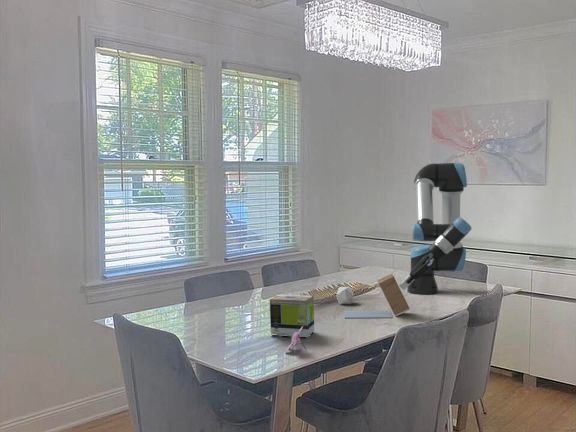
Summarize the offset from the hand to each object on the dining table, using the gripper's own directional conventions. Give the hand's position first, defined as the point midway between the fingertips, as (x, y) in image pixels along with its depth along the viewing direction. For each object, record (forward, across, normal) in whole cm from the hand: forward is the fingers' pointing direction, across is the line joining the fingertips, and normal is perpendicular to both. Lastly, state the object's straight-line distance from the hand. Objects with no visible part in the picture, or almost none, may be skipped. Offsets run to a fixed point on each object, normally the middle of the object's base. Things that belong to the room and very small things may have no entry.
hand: (401, 287), depth 256 cm
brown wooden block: (+7, +1, -7) cm, 10 cm away
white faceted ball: (+25, +22, +8) cm, 34 cm away
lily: (+39, -48, +23) cm, 66 cm away
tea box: (+41, -28, +24) cm, 55 cm away
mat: (+19, +1, +2) cm, 19 cm away
